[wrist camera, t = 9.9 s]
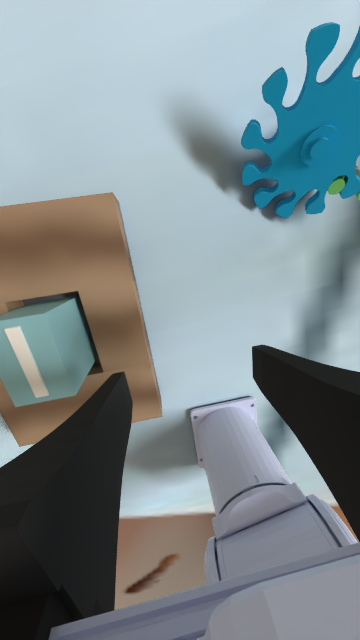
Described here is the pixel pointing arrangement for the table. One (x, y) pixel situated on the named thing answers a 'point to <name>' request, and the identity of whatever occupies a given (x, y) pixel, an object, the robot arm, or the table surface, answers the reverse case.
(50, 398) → the teal striped block
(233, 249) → the table surface
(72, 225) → the keyed socket
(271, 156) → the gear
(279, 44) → the table surface
